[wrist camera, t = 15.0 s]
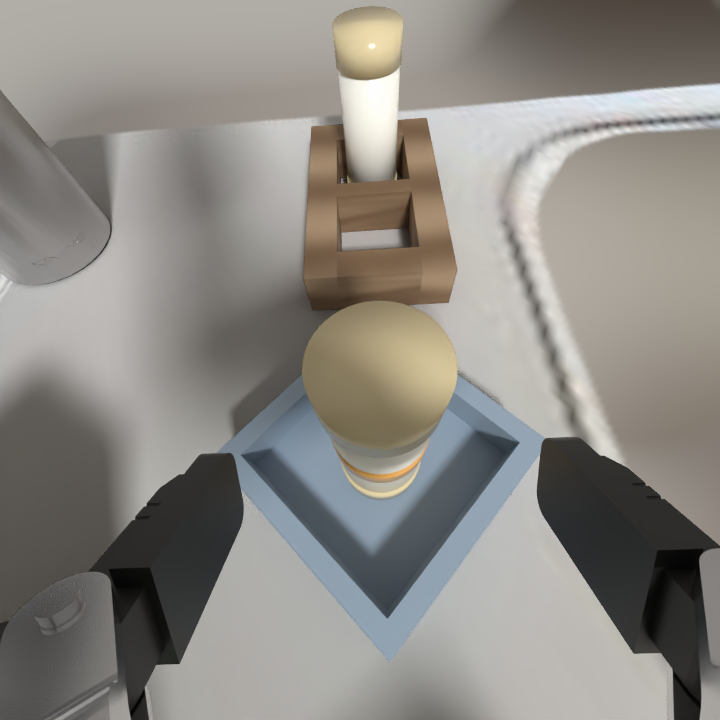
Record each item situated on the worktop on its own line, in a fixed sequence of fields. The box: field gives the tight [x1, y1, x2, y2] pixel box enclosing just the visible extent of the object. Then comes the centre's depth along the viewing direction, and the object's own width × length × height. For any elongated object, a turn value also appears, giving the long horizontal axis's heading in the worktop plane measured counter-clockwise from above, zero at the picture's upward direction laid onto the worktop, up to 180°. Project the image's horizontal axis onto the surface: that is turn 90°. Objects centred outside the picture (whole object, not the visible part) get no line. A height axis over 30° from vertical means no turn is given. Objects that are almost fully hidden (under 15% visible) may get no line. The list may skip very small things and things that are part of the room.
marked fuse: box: [302, 301, 458, 500], centre depth 15 cm, size 4×4×12 cm
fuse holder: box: [303, 118, 457, 310], centre depth 29 cm, size 17×10×4 cm, turn 2°
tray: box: [217, 374, 545, 662], centre depth 20 cm, size 12×12×4 cm
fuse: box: [332, 6, 403, 183], centre depth 27 cm, size 4×4×12 cm
